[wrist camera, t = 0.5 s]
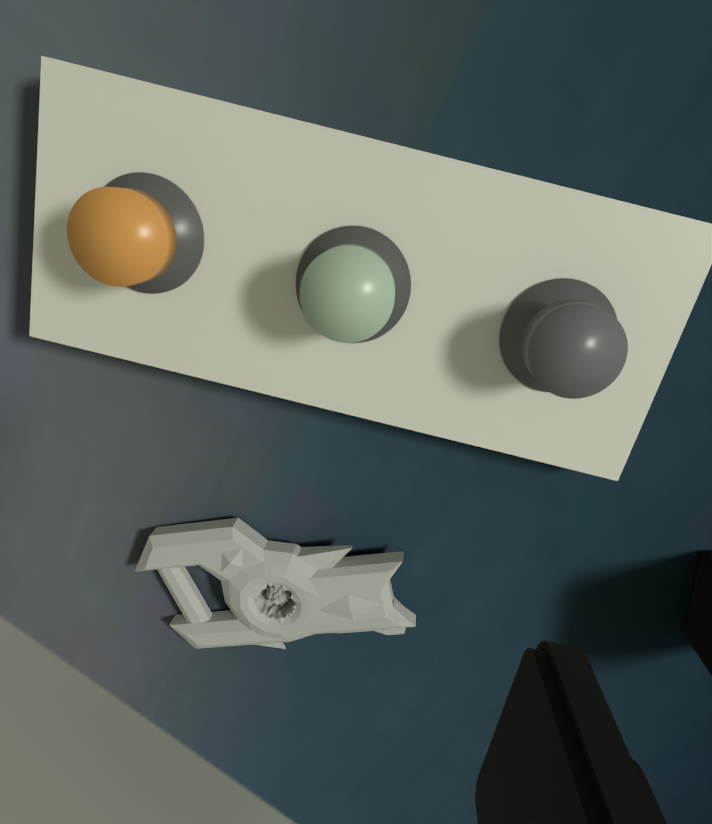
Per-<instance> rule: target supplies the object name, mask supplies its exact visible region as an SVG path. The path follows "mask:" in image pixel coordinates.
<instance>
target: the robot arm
mask: <svg viewBox="0 0 712 824" xmlns="http://www.w3.org/2000/svg"><path fill="white" fill-rule="evenodd" d="M475 802H476V812H477V819H478V824H667V823H666V821H665V819H664V817H663V814H662V812H661V810H660V808H659V805H658V803H657V801H656V799H655V796H654V794H653V792H652V790H651V788H650V785H649V783H648V781H647V779H646V776H645V775H644V773H643V771H642V769H641V768H640V766H639V764H637V763H636V762H635V761H634V760H633V759H632V758H631V757H630V754H629V752H628V750H627V747H626V745H625V743H624V741H623V738H622V736H621V734H620V731H619V729H618V727H617V725H616V722H615V720H614V718H613V715H612V713H611V711H610V709H609V706H608V704H607V702H606V699H605V697H604V695H603V693H602V690H601V688H600V686H599V683H598V681H597V679H596V677H595V674H594V672H593V670H592V667H591V665H590V663H589V661H588V658H587V656H586V654H585V653H584V651H583V650H581V649H580V648H575V647H571V646H566V645H561V644H557V643H552V642H548V641H542V642H540V644H539V645H538V646H537V648H536V649H532V648H528V649H527V650H526V651H525V652H524V654H523V657H522V659H521V662H520V665H519V668H518V670H517V673H516V676H515V678H514V681H513V684H512V686H511V689H510V692H509V695H508V697H507V700H506V703H505V705H504V708H503V711H502V714H501V716H500V719H499V722H498V724H497V727H496V730H495V733H494V735H493V738H492V741H491V743H490V746H489V749H488V752H487V754H486V757H485V760H484V762H483V765H482V768H481V770H480V773H479V776H478V779H477V784H476V794H475Z"/></svg>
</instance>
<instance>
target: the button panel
mask: <svg viewBox="0 0 712 824" xmlns="http://www.w3.org/2000/svg"><path fill="white" fill-rule="evenodd" d="M99 187H119V188H132V189H137V190H140V191H143V192H145V193H148V194H149V195H151V196H153V197H154V198H155V199H157V200H158V201H159V202H160V203H161V204H162V205H163V206H164V208H165V209H166V210H167V212H168V213H169V215H170V217H171V219H172V221H173V223H174V227H175V231H176V238H177V244H176V251H175V255H174V258H173V260H172V262H171V264H170V265H169V267H168V268H167V269H166V270H165V272H163V273H162V274H161V275H160V276H158V277H156V278H154V279H152V280H149V281H145V282H142V283H138V284H135V285H131V286H125V287H115V286H110V285H106V284H103V283H101V282H99V281H97V280H95V279H94V278H92V277H91V276H90V275H88V274H87V273H86V272H85V271H84V270H83V269H82V268H81V267H80V265H79V264H78V263H77V261H76V260H75V258H74V256H73V254H72V252H71V249H70V246H69V243H68V237H67V222H68V217H69V214H70V211H71V209H72V207H73V205H74V204H75V202H76V201H77V200H78V199H79V198H80V197H81V196H82V195H83V194H85V193H86V192H88V191H90V190H92V189H95V188H99ZM343 244H357V245H362V246H365V247H367V248H370V249H372V250H373V251H375V252H376V253H378V254H379V255H380V256H381V257H382V258H383V259H384V260H385V261H386V263H387V264H388V266H389V268H390V270H391V272H392V274H393V277H394V282H395V301H394V307H393V310H392V313H391V315H390V317H389V319H388V321H387V323H386V324H385V325H384V326H383V328H382V329H381V330H380V331H379V332H377V333H376V334H375V335H373V336H372V337H370V338H368V339H366V340H363V341H360V342H355V343H341V342H336V341H333V340H330V339H328V338H326V337H324V336H322V335H321V334H319V333H318V332H317V331H316V330H315V329H314V328H313V327H312V326H311V325H310V324H309V322H308V321H307V319H306V317H305V316H304V313H303V311H302V308H301V304H300V284H301V281H302V277H303V275H304V273H305V271H306V269H307V267H308V266H309V265H310V263H311V262H312V261H313V260H314V259H315V258H316V257H318V256H319V255H320V254H322V253H324V252H325V251H327V250H329V249H331V248H333V247H335V246H339V245H343ZM711 264H712V224H710V223H706V222H702V221H698V220H694V219H690V218H686V217H682V216H678V215H674V214H670V213H666V212H662V211H658V210H654V209H650V208H646V207H642V206H638V205H634V204H630V203H626V202H622V201H618V200H614V199H610V198H606V197H602V196H599V195H595V194H591V193H587V192H583V191H579V190H575V189H571V188H567V187H563V186H559V185H555V184H551V183H547V182H543V181H539V180H535V179H531V178H527V177H523V176H519V175H515V174H511V173H507V172H503V171H499V170H495V169H491V168H487V167H483V166H479V165H475V164H471V163H467V162H463V161H459V160H455V159H451V158H447V157H443V156H439V155H435V154H431V153H427V152H423V151H419V150H415V149H411V148H407V147H403V146H399V145H395V144H391V143H387V142H383V141H379V140H375V139H371V138H367V137H363V136H359V135H355V134H351V133H347V132H343V131H339V130H335V129H331V128H327V127H323V126H319V125H316V124H312V123H308V122H304V121H300V120H296V119H292V118H288V117H284V116H280V115H276V114H272V113H268V112H264V111H260V110H256V109H252V108H248V107H244V106H240V105H236V104H232V103H228V102H224V101H220V100H216V99H212V98H208V97H204V96H200V95H196V94H192V93H188V92H184V91H180V90H176V89H172V88H168V87H164V86H160V85H156V84H152V83H148V82H144V81H140V80H136V79H132V78H128V77H124V76H120V75H116V74H112V73H108V72H104V71H100V70H96V69H92V68H88V67H84V66H80V65H76V64H72V63H68V62H64V61H60V60H56V59H52V58H48V57H44V56H41V76H40V100H39V123H38V146H37V169H36V193H35V216H34V239H33V262H32V286H31V309H30V332H29V336H31V337H35V338H39V339H43V340H48V341H52V342H56V343H60V344H64V345H68V346H72V347H76V348H80V349H84V350H88V351H92V352H96V353H100V354H104V355H108V356H112V357H117V358H121V359H125V360H129V361H133V362H137V363H141V364H145V365H149V366H153V367H157V368H161V369H165V370H169V371H173V372H177V373H181V374H186V375H190V376H194V377H198V378H202V379H206V380H210V381H214V382H218V383H222V384H226V385H230V386H234V387H238V388H242V389H246V390H250V391H255V392H259V393H263V394H267V395H271V396H275V397H279V398H283V399H287V400H291V401H295V402H299V403H303V404H307V405H311V406H315V407H319V408H324V409H328V410H332V411H336V412H340V413H344V414H348V415H352V416H356V417H360V418H364V419H368V420H372V421H376V422H380V423H384V424H388V425H393V426H397V427H401V428H405V429H409V430H413V431H417V432H421V433H425V434H429V435H433V436H437V437H441V438H445V439H449V440H453V441H457V442H462V443H466V444H470V445H474V446H478V447H482V448H486V449H490V450H494V451H498V452H502V453H506V454H510V455H514V456H518V457H522V458H526V459H531V460H535V461H539V462H543V463H547V464H551V465H555V466H559V467H563V468H567V469H571V470H575V471H579V472H583V473H587V474H591V475H595V476H600V477H604V478H608V479H612V480H616V481H618V479H619V477H620V475H621V472H622V470H623V468H624V465H625V463H626V461H627V459H628V456H629V454H630V452H631V449H632V447H633V445H634V442H635V440H636V438H637V435H638V433H639V431H640V429H641V426H642V424H643V422H644V419H645V417H646V415H647V412H648V410H649V408H650V405H651V403H652V401H653V398H654V396H655V394H656V392H657V389H658V387H659V385H660V382H661V380H662V378H663V375H664V373H665V371H666V368H667V366H668V364H669V361H670V359H671V357H672V355H673V352H674V350H675V348H676V345H677V343H678V341H679V338H680V336H681V334H682V331H683V329H684V327H685V325H686V322H687V320H688V318H689V315H690V313H691V311H692V308H693V306H694V304H695V301H696V299H697V297H698V294H699V292H700V290H701V288H702V285H703V283H704V281H705V278H706V276H707V274H708V271H709V269H710V267H711ZM566 299H577V300H583V301H586V302H589V303H591V304H593V305H595V306H597V307H599V308H601V309H603V310H605V311H607V312H609V313H610V314H612V315H613V316H614V317H615V318H616V319H617V320H618V321H619V322H620V324H621V325H622V327H623V329H624V331H625V333H626V337H627V342H628V353H627V359H626V362H625V365H624V367H623V369H622V371H621V372H620V374H619V376H618V377H617V378H616V379H615V381H614V382H613V383H611V384H610V385H609V386H608V387H607V388H605V389H604V390H602V391H601V392H599V393H597V394H595V395H592V396H589V397H585V398H579V399H568V398H562V397H559V396H556V395H554V394H552V393H550V392H548V391H547V390H545V389H544V388H543V387H542V386H541V385H540V384H539V383H538V381H537V380H536V379H535V378H534V376H533V375H532V374H531V373H530V371H529V370H528V368H527V367H526V365H525V363H524V360H523V357H522V351H521V344H522V337H523V334H524V331H525V329H526V327H527V325H528V323H529V322H530V320H531V319H532V318H533V317H534V316H535V314H536V313H538V312H539V311H540V310H541V309H543V308H544V307H546V306H547V305H549V304H552V303H554V302H557V301H561V300H566Z"/></svg>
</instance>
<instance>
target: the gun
mask: <svg viewBox="0 0 712 824" xmlns="http://www.w3.org/2000/svg"><path fill="white" fill-rule="evenodd" d="M352 546H353V545H343V546H317V547H300V546H299V545H297V544H293V543H285V542H277V541H269V540H267V539H266V538H264V537H263V536H262V535H260V534H259V533H258V532H256V531H255V530H254V529H252V528H251V527H250V526H248V525H247V524H246V523H244V522H243V521H242V520H240V519H239V518H231V519H223V520H214V521H205V522H196V523H187V524H179V525H170V526H161V527H156V528H155V530H154V531H153V532H152V533H151V535H150V536H149V538H148V540H147V543H146V545H145V548H144V550H143V553H142V555H141V557H140V560H139V562H138V565H137V567H136V569H135V571H145V570H155V569H157V570H158V572H159V574H160V576H161V577H162V579H163V581H164V583H165V584H166V586H167V588H168V589H169V591H170V593H171V595H172V596H173V598H174V600H175V602H176V603H177V605H178V607H179V608H180V610H181V612H182V614H178V615H175V616H174V618H173V620H172V621H171V623H170V625H169V626H171V627H172V628H173V629H174V630H175V631H176V632H177V633H179V634H180V635H181V636H182V637H183V638H184V639H185V640H187V641H188V642H189V643H190V644H191V645H192V646H193V647H195V648H210V647H224V646H238V645H252V644H255V645H262V646H269V647H275V648H282V649H286V647H285V645H284V644H283V642H291V641H294V640H297V639H300V638H304V637H307V636H310V635H313V634H322V633H349V632H363V631H376V632H379V633H382V634H385V635H394V634H404V633H405V628H406V627H416V615H415V614H414V613H412V612H411V611H410V610H408V609H407V608H406V607H404V606H403V605H402V604H401V603H400V602H399V601H398V600H397V599H396V598H395V597H394V596H393V591H392V587H391V582H390V578H391V577H392V576H393V574H394V573H395V571H396V570H397V569H398V567H399V566H400V565H401V563H402V562H403V552H404V551H403V552H388V553H378V554H368V555H358V556H347V557H344V556H345V555H346V554H347V553H348V552H349V551H350V550H351V549H352ZM196 565H199V566H200V567H202V568H203V569H205V570H206V571H208V572H209V573H211V574H212V575H213V576H215V577H216V578H218V579H219V580H221V584H222V589H223V594H224V599H225V602H226V604H227V605H228V607H229V608H230V609H231V610H226V611H214V612H211V611H210V609H209V607H208V605H207V604H206V602H205V600H204V599H203V597H202V595H201V593H200V592H199V590H198V588H197V587H196V585H195V583H194V581H193V580H192V578H191V576H190V575H189V573H188V571H187V569H186V568H185V567H186V566H196ZM267 585H268V586H269V587H267ZM291 593H292V595H291ZM290 595H291V597H290Z"/></svg>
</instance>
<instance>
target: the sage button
mask: <svg viewBox="0 0 712 824" xmlns="http://www.w3.org/2000/svg"><path fill="white" fill-rule="evenodd" d="M394 301H395V282H394V277H393V274H392V272H391V270H390V268H389V266H388V264H387V263H386V261H385V260H384V259H383V258H382V257H381V256H380V255H379V254H378V253H376V252H375V251H373V250H372V249H370V248H367V247H365V246H362V245H357V244H343V245H339V246H335V247H333V248H331V249H329V250H327V251H325V252H324V253H322V254H320V255H319V256H318V257H316V258H315V259H314V260H313V261H312V262H311V263H310V265H309V266H308V267H307V269H306V271H305V273H304V275H303V277H302V281H301V284H300V304H301V308H302V311H303V313H304V316H305V317H306V319H307V321H308V322H309V324H310V325H311V326H312V327H313V328H314V329H315V330H316V331H317V332H318V333H319V334H321V335H322V336H324V337H326V338H328V339H330V340H333V341H336V342H341V343H355V342H360V341H363V340H366V339H368V338H370V337H372V336H373V335H375V334H376V333H377V332H379V331H380V330H381V329H382V328H383V326H384V325H385V324H386V323H387V321H388V319H389V317H390V315H391V313H392V310H393V307H394Z"/></svg>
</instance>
